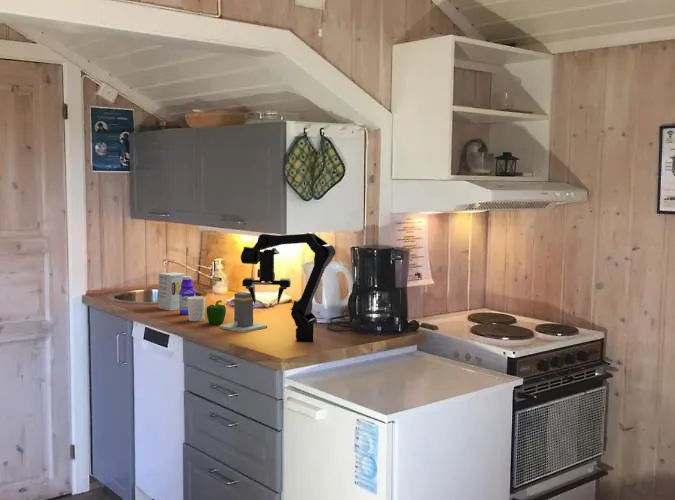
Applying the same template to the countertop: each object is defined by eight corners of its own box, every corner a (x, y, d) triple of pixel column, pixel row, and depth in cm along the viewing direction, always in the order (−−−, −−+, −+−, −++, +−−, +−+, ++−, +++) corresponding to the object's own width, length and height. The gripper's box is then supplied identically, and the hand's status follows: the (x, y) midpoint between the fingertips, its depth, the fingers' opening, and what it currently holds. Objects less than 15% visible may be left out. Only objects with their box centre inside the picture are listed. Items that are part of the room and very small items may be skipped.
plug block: (253, 325, 312) (253, 293, 310) (243, 327, 307) (243, 295, 306) (243, 323, 315) (243, 292, 314) (234, 325, 311) (234, 293, 309)
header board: (267, 327, 313) (267, 319, 312) (243, 332, 302) (243, 324, 301) (243, 323, 321) (243, 315, 321) (219, 327, 310) (219, 319, 310)
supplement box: (170, 311, 347) (170, 275, 345) (158, 308, 353) (157, 273, 351) (186, 308, 354) (186, 273, 353) (174, 306, 360) (173, 271, 358)
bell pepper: (208, 326, 314) (208, 302, 313) (204, 322, 322) (204, 299, 321) (228, 324, 317) (228, 301, 316) (223, 321, 325) (223, 298, 324)
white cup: (197, 322, 321) (197, 299, 320) (183, 320, 325) (183, 298, 324) (209, 319, 328) (209, 297, 327) (195, 317, 332) (195, 295, 331)
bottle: (180, 315, 336) (180, 277, 335) (178, 313, 341) (177, 275, 340) (196, 314, 339) (196, 276, 338) (193, 312, 344) (193, 275, 343)
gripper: (291, 263, 301) (291, 301, 303) (245, 262, 301) (245, 300, 303) (289, 266, 290) (289, 305, 292) (242, 265, 290) (242, 304, 292)
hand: (266, 304), depth 295 cm, fingers open, 9 cm apart
